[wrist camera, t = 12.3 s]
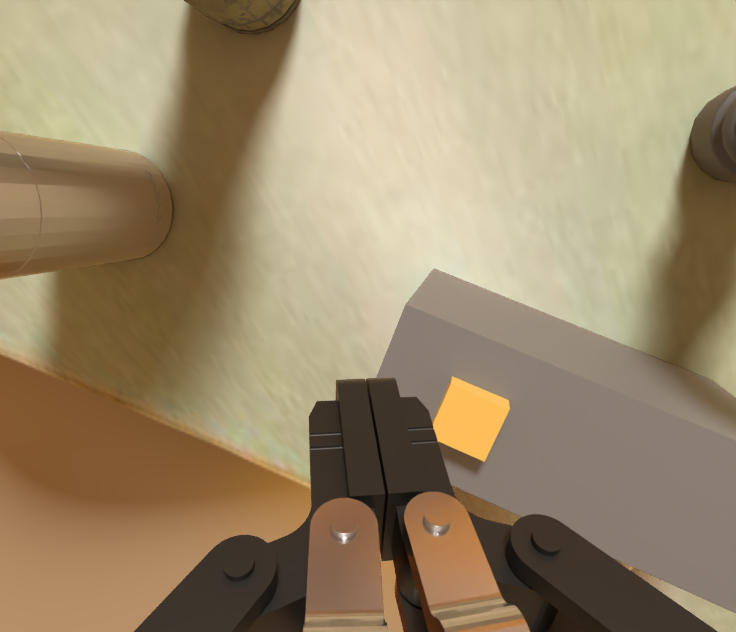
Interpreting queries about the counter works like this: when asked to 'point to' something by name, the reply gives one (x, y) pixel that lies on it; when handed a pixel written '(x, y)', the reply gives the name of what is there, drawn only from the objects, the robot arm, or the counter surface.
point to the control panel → (576, 431)
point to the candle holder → (716, 137)
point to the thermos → (247, 13)
